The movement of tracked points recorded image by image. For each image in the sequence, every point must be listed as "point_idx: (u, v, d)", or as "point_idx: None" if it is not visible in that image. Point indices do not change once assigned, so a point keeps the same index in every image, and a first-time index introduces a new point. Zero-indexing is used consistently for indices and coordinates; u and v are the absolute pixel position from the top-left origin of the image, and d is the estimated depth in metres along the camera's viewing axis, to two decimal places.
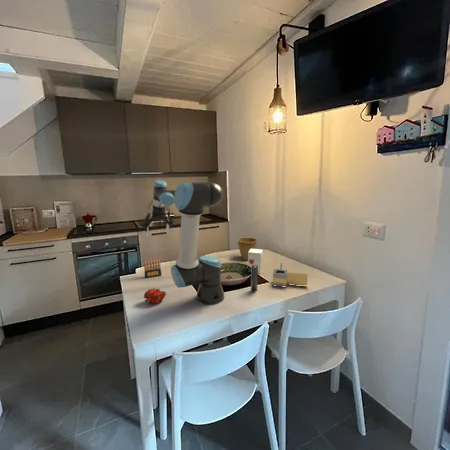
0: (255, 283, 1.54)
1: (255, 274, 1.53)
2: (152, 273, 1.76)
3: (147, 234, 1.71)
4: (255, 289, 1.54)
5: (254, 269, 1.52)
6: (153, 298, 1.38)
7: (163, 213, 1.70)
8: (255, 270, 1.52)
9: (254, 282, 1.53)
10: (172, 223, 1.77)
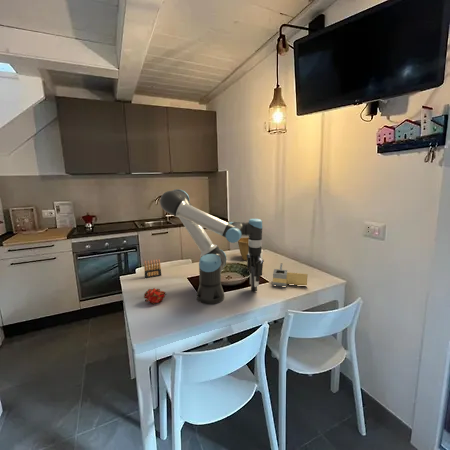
0: None
1: None
2: (152, 273, 1.76)
3: (250, 281, 1.57)
4: (255, 289, 1.54)
5: (254, 269, 1.52)
6: (153, 298, 1.38)
7: (256, 257, 1.49)
8: None
9: None
10: (257, 275, 1.50)
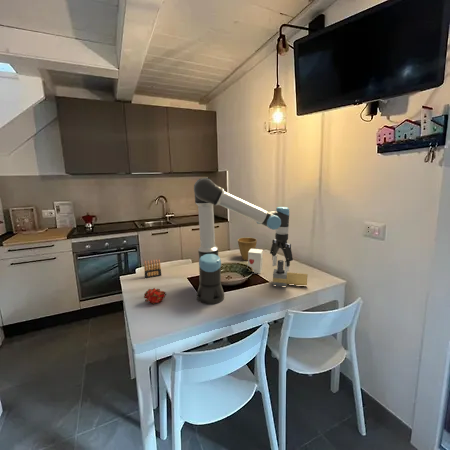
0: None
1: (281, 268, 1.61)
2: (152, 273, 1.76)
3: None
4: None
5: (280, 264, 1.61)
6: (153, 298, 1.38)
7: (283, 243, 1.57)
8: (281, 264, 1.61)
9: None
10: (288, 260, 1.54)
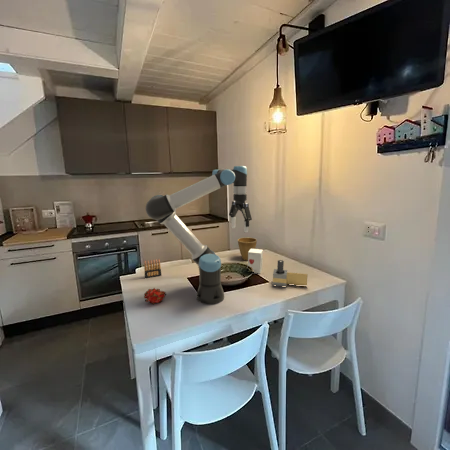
0: None
1: (281, 268, 1.61)
2: (152, 273, 1.76)
3: (231, 225, 1.62)
4: None
5: (280, 264, 1.61)
6: (153, 298, 1.38)
7: (241, 204, 1.51)
8: (281, 265, 1.61)
9: None
10: (247, 219, 1.47)
